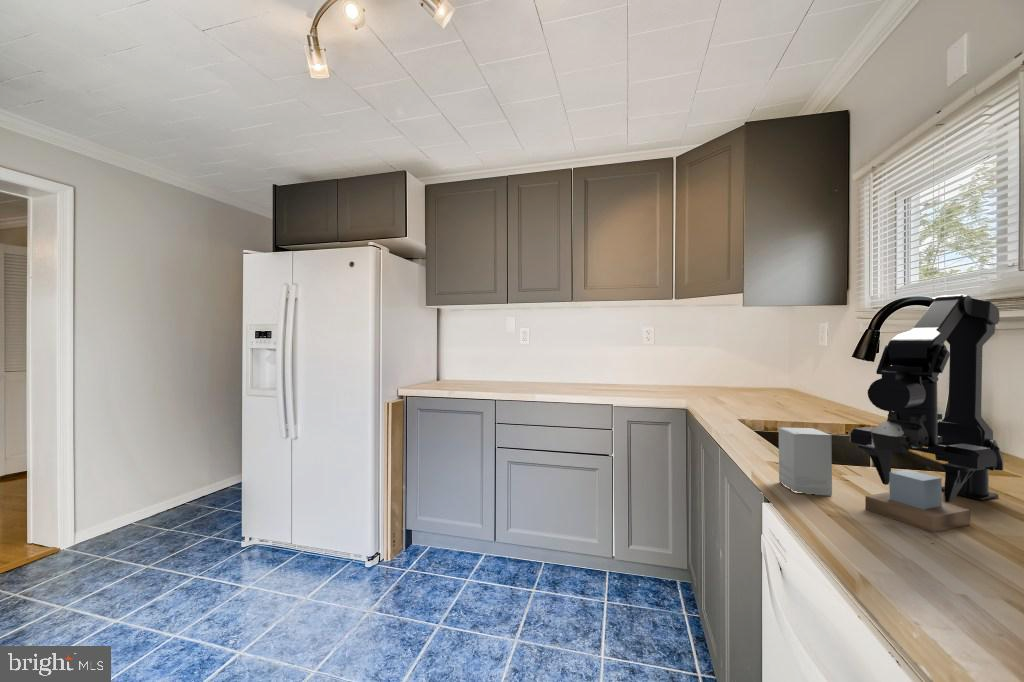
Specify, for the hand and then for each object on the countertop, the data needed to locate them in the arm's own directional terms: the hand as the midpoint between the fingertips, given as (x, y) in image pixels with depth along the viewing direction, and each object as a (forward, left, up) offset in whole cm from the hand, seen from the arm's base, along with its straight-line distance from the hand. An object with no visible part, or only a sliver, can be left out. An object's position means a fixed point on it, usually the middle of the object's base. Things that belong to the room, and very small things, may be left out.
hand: (915, 492), depth 75 cm
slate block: (0, 0, -2) cm, 2 cm away
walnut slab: (0, 0, -4) cm, 4 cm away
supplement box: (+6, -16, -4) cm, 18 cm away
